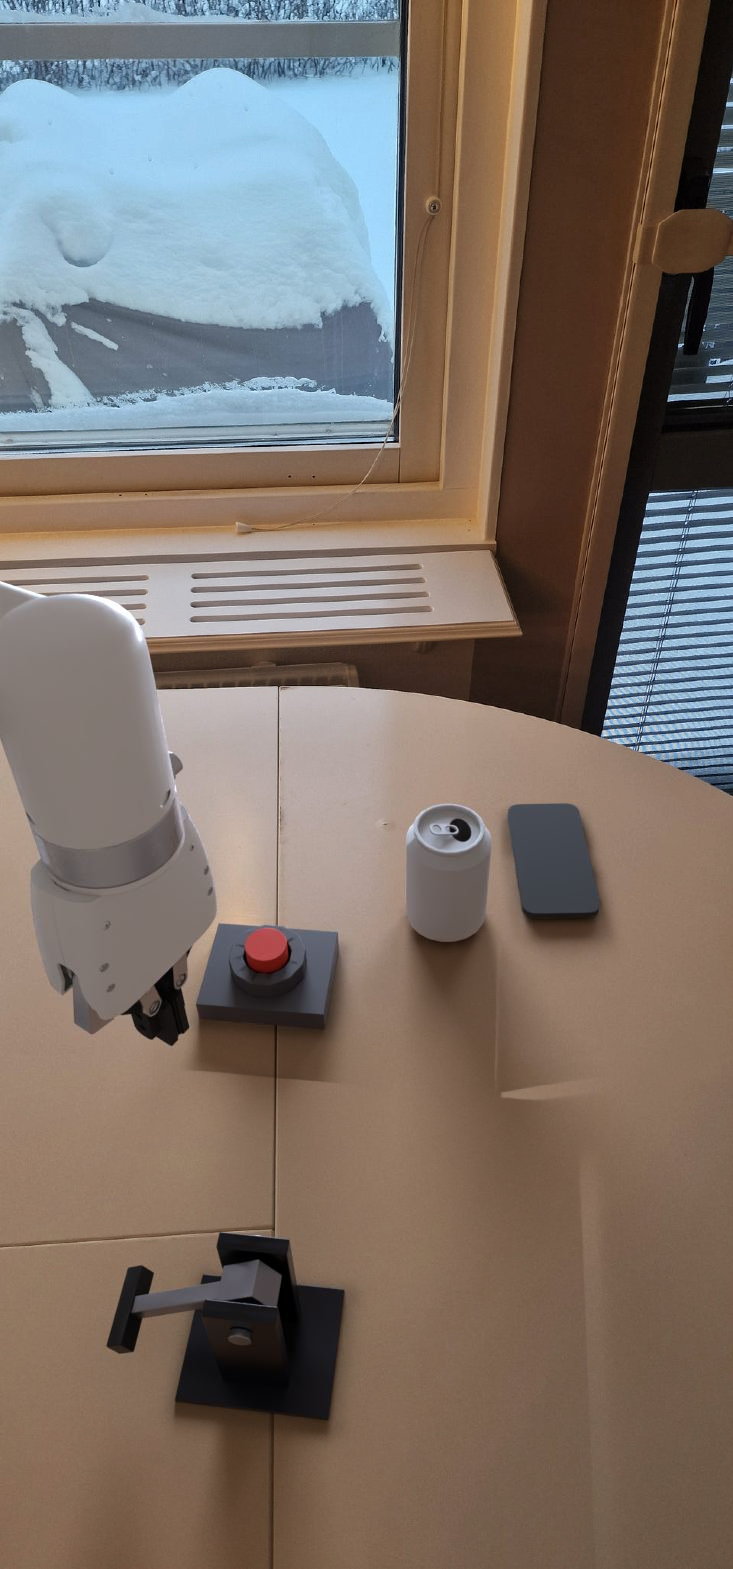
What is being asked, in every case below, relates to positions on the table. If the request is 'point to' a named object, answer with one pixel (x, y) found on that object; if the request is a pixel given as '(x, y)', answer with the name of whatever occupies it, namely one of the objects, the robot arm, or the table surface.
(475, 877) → the can
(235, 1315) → the bracket
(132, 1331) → the lever
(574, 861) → the phone
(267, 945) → the button
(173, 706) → the table surface
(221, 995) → the button block
